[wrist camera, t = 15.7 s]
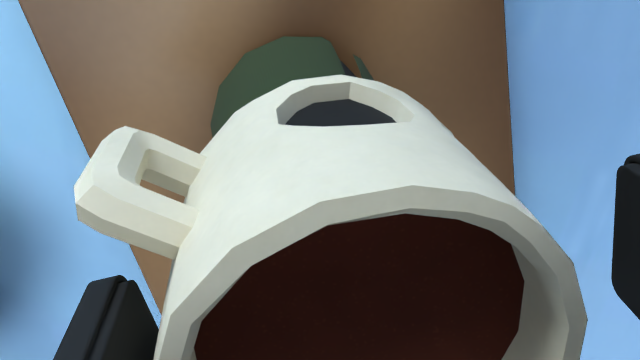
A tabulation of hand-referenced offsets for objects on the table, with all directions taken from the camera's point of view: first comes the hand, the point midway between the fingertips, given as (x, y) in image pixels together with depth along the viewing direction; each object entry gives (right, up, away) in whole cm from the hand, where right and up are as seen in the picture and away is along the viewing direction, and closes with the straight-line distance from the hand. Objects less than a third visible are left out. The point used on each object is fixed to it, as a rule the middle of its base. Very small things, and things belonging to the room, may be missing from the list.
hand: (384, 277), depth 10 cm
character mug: (-2, +4, +10) cm, 11 cm away
